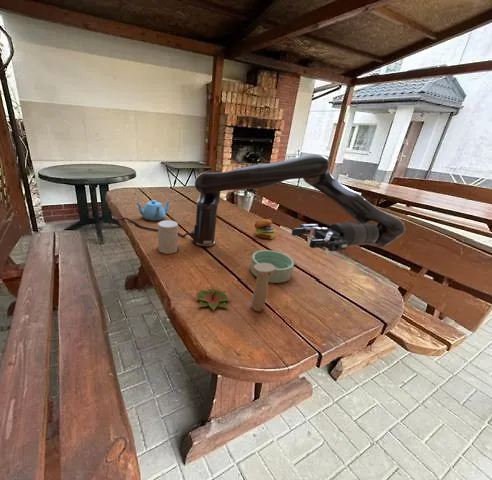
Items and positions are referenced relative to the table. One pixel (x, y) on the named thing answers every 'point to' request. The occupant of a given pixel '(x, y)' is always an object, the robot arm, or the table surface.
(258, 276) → the handle
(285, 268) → the pale green bowl
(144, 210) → the teapot
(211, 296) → the lily flower
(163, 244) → the white cylinder
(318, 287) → the table surface
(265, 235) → the cheeseburger
